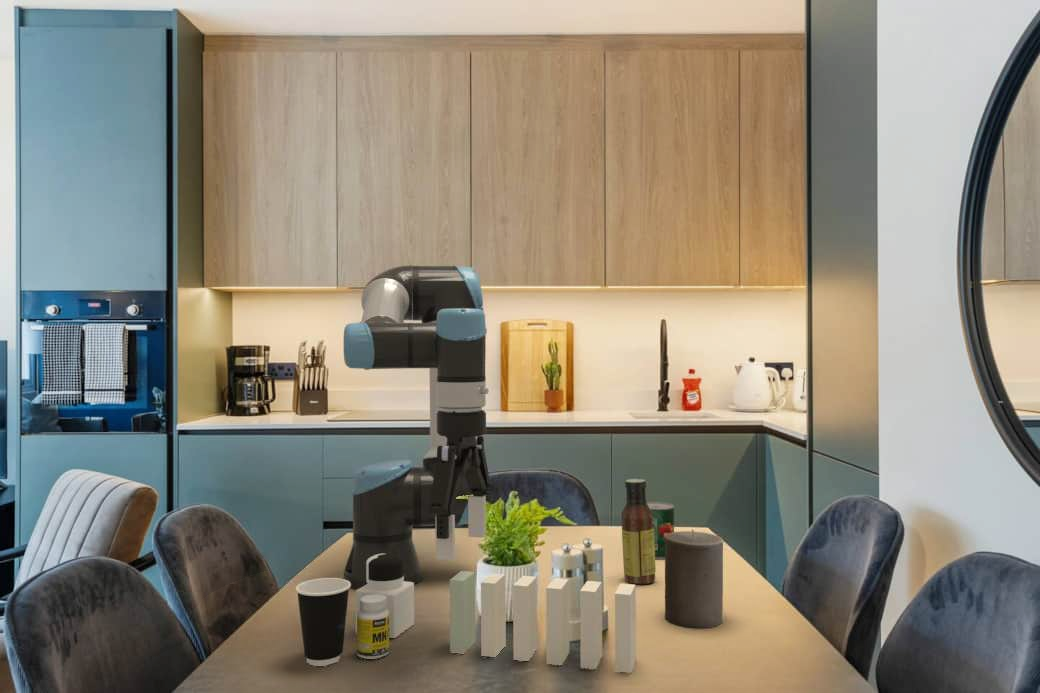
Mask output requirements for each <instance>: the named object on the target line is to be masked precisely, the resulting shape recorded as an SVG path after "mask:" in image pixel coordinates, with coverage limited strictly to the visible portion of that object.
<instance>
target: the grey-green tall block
mask: <svg viewBox="0 0 1040 693" xmlns="http://www.w3.org/2000/svg"><path fill="white" fill-rule="evenodd" d="M473 643H475V644H476V571H469V570H467V571H466V570H461V571H459V572H458V573H457V574H456V575H454V576H453V577H452V578H450V579H449V652H450V651H451V652H458V653H464V652H466V650H468V649H469V648H470V646H471V645H473ZM473 646H474V645H473ZM470 649H471V648H470ZM470 649H469V650H470ZM469 650H468V651H469ZM466 653H467V652H466Z"/></svg>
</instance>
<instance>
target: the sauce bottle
mask: <svg viewBox="0 0 1040 693" xmlns="http://www.w3.org/2000/svg"><path fill="white" fill-rule="evenodd" d="M624 486H625V489H626V504H625V506H624V507H623V510H622V511H621V541H622V544H621V545H622V560H623V574H624V580H625V581H626V582H627V583H628V584H633V585H649V584H652V583H654V582H655V581H656V572H657V571H656V559H655V547H654V528H653V520H652V519H653V518H652V512H651V510H650V508H649V507H648V505H647V499H646V497H647V496H646V487H647V482H646V479H643V478H642V479H641V478H630V479H626V480H625V485H624Z"/></svg>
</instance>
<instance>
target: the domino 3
mask: <svg viewBox="0 0 1040 693" xmlns="http://www.w3.org/2000/svg"><path fill="white" fill-rule="evenodd" d="M545 589H546V590H545V592H546V593H545V594H546V596H545V600H546V601H545V603H546V604H545V605H546V607H545V608H546V609H545V610H546V611H545V612H546V614H545V615H546V618H545V619H546V621H545V622H546V626H545V627H546V629H545V633H546V665H549V664H552V665H551V666H557V665H559V666H560V665H562V666H563V664H564V663H565V661H566V659H567V658H568V656H569V654H570V579H569V578H556V577H555V578H553V580H552V581H551V582H550V583H549V584H548V585H547V587H546V588H545ZM560 667H561V666H560Z"/></svg>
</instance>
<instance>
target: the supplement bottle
mask: <svg viewBox="0 0 1040 693" xmlns="http://www.w3.org/2000/svg"><path fill="white" fill-rule="evenodd" d="M386 607H387V597H386V596H384V595H377V594H374V595H367V596H363V597H361V598H360V609H361V610H360V611H359V612H358V614H357V634H356V654H357V656H359V657H361V658H360V659H362V658H364V659H363V660H366V659H372V658H379V657H382V656H385V655H386V656H388V655H389V653H390V639H389V611H388V610H387V609H386ZM387 654H388V655H387ZM386 656H385V657H386ZM359 657H358V658H359ZM365 658H366V659H365Z"/></svg>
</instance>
